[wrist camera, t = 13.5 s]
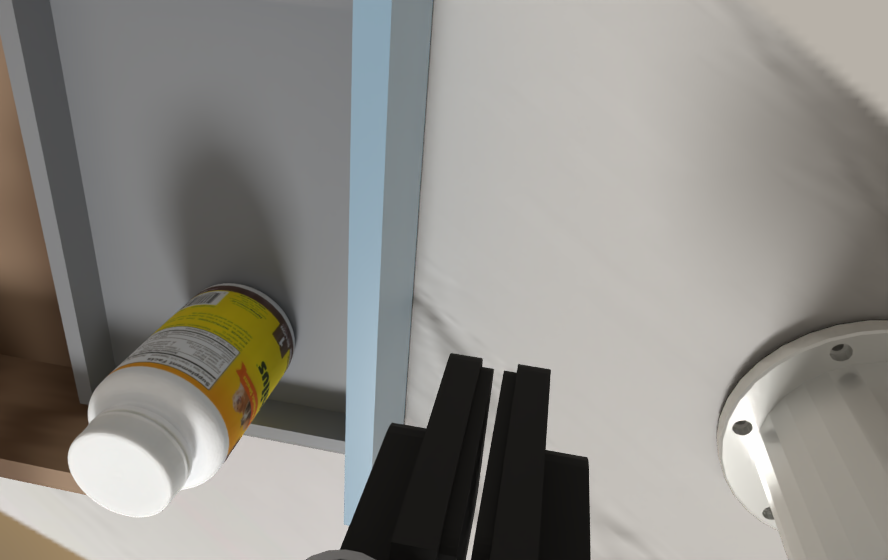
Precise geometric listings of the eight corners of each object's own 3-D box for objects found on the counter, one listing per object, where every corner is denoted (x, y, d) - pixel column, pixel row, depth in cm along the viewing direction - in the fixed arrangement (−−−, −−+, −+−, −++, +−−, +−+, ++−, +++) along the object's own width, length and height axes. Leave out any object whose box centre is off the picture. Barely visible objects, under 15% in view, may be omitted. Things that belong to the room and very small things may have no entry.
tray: (437, -62, 25) (394, -64, 19) (402, 435, 36) (369, 529, 30) (47, -99, 27) (-99, -111, 21) (129, 384, 38) (48, 463, 32)
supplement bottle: (276, 394, 34) (166, 558, 25) (178, 341, 33) (30, 487, 24) (318, 315, 31) (212, 466, 22) (211, 256, 31) (60, 385, 22)
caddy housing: (206, -84, 26) (66, -95, 19) (242, 401, 37) (162, 511, 30) (-148, -118, 28) (-398, -138, 21) (-14, 353, 39) (-146, 445, 32)
